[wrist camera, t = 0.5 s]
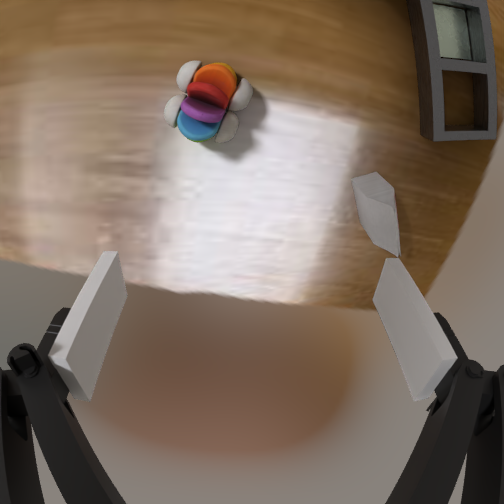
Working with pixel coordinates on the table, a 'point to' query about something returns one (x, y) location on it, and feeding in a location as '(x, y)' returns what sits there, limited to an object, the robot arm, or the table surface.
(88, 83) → the table surface
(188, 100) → the rainbow disc toy
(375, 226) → the white printed box
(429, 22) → the rack
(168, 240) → the table surface
